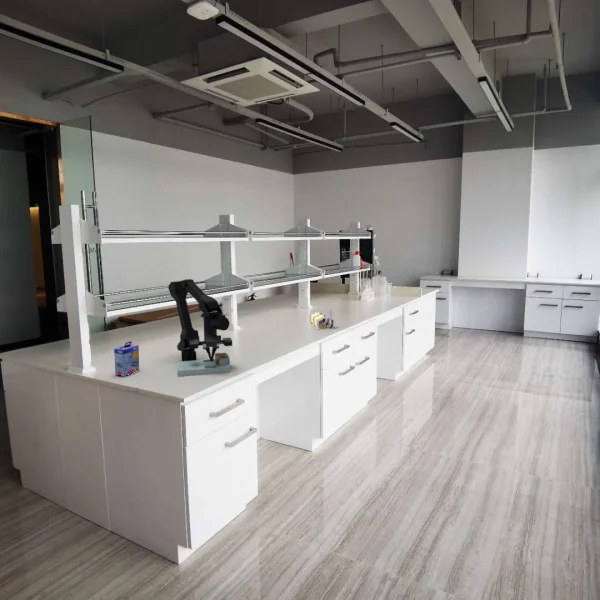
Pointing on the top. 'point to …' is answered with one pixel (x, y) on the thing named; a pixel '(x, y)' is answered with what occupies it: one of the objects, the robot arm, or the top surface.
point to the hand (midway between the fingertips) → (211, 361)
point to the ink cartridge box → (126, 359)
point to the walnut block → (219, 357)
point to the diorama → (321, 319)
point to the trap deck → (203, 367)
